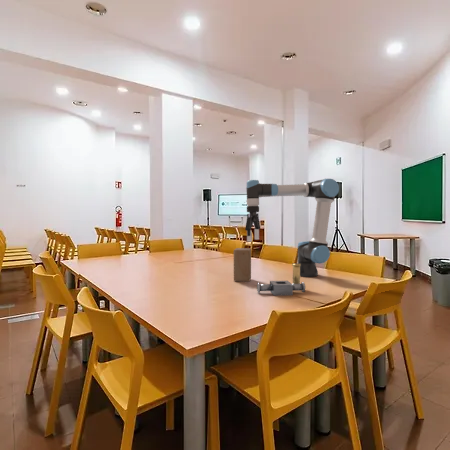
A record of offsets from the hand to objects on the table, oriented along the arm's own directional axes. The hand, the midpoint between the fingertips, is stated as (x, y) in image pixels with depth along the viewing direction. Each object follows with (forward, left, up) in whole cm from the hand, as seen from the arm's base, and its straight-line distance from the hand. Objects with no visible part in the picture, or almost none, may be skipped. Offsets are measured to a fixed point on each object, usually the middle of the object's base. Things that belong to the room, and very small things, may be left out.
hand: (253, 240), depth 190 cm
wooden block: (+6, -7, -26) cm, 28 cm away
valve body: (-11, +26, -26) cm, 38 cm away
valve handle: (-22, +17, -26) cm, 38 cm away
